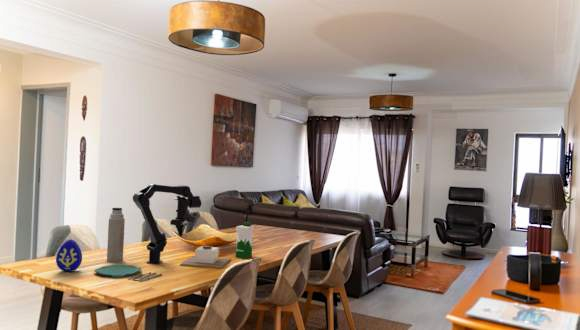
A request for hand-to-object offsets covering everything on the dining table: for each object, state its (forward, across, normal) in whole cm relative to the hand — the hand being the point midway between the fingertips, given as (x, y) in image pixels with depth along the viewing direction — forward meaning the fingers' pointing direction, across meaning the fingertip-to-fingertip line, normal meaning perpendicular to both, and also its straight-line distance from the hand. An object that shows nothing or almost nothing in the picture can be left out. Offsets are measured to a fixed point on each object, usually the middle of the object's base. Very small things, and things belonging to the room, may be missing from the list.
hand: (180, 236), depth 258 cm
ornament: (+14, -42, +39) cm, 59 cm away
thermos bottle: (+13, -14, +30) cm, 36 cm away
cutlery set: (+14, -40, +11) cm, 44 cm away
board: (+13, -3, -16) cm, 21 cm away
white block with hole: (+13, -3, -16) cm, 21 cm away
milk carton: (+13, +20, -32) cm, 39 cm away
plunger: (+11, -3, -16) cm, 20 cm away
